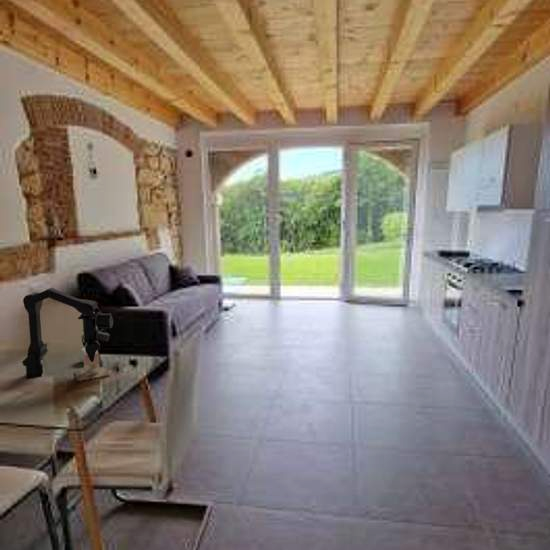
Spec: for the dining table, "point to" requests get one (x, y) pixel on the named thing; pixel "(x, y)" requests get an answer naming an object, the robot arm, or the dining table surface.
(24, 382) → the dining table surface
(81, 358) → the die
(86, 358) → the terracotta brick
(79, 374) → the walnut board
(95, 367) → the birch brick
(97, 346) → the robot arm
